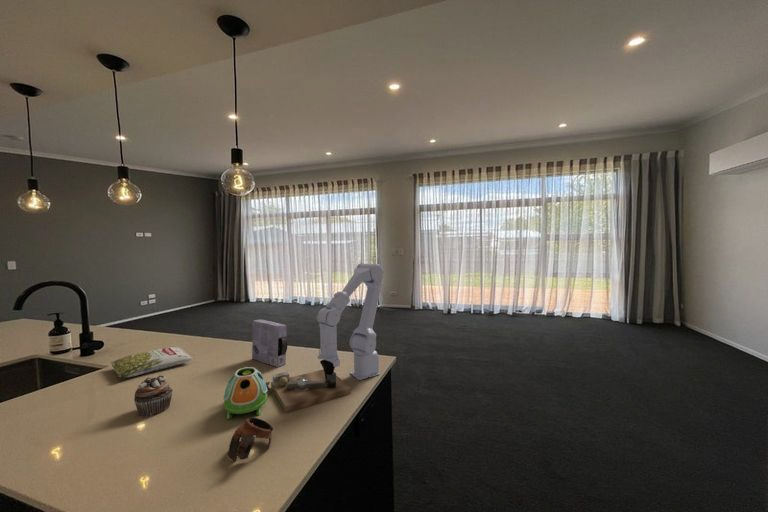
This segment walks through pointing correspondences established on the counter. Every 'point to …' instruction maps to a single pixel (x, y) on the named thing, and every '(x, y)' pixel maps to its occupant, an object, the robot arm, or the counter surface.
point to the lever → (313, 382)
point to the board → (305, 390)
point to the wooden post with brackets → (268, 387)
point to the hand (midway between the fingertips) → (329, 380)
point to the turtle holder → (245, 392)
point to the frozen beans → (150, 361)
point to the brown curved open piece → (248, 437)
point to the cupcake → (153, 396)
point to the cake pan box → (269, 342)
